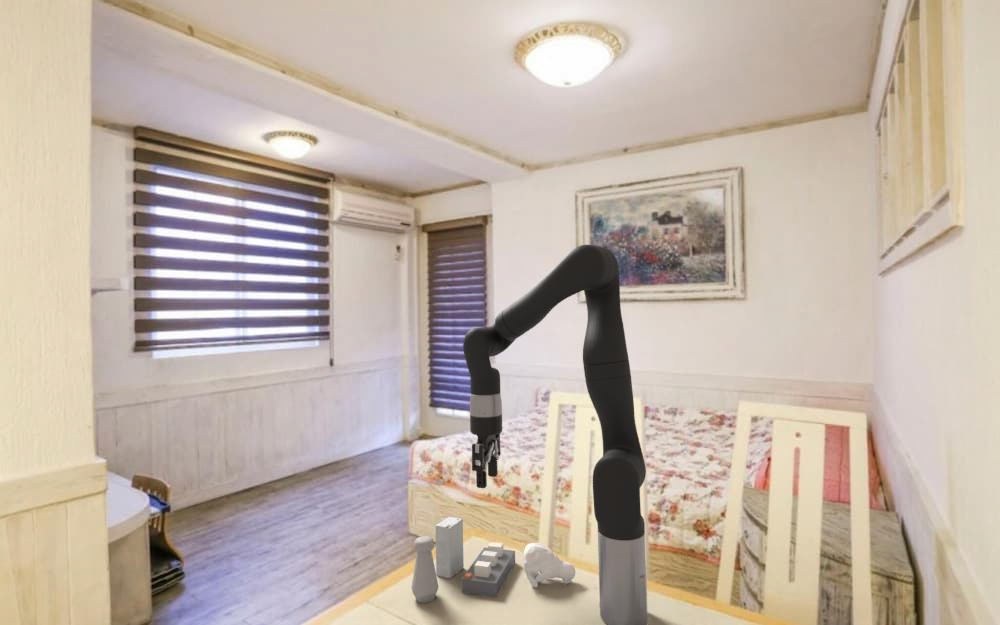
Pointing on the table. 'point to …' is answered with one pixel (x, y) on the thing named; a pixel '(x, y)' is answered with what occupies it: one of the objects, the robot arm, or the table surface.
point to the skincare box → (449, 547)
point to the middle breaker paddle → (490, 557)
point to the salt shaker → (424, 571)
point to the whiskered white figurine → (545, 565)
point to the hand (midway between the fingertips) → (487, 481)
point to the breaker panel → (494, 577)
